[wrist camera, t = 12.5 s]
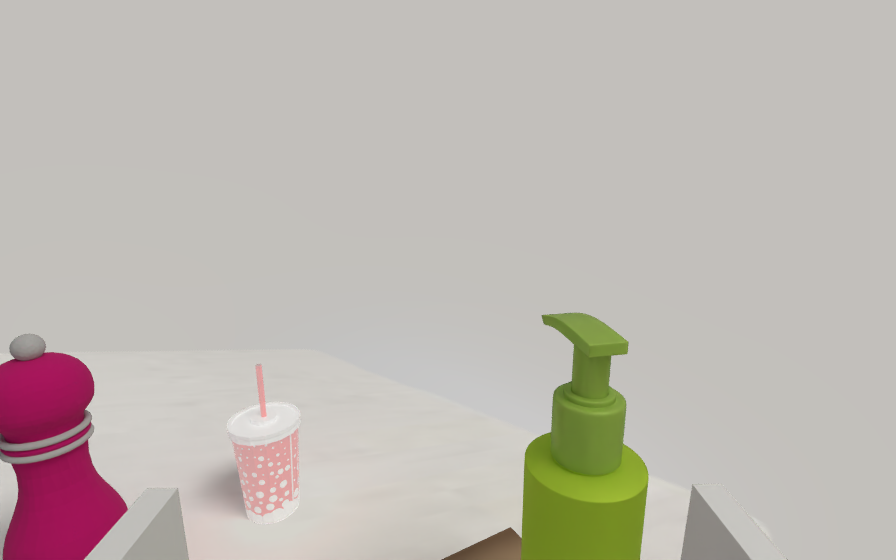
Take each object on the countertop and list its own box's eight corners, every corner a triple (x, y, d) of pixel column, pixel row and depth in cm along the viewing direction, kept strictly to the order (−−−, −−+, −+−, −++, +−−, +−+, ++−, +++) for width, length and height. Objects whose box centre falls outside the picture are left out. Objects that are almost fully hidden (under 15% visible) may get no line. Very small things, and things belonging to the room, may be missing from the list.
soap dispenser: (584, 596, 31) (607, 302, 26) (648, 712, 24) (693, 347, 20) (498, 613, 30) (505, 308, 25) (541, 740, 23) (562, 359, 19)
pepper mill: (124, 536, 40) (81, 311, 36) (152, 585, 36) (106, 333, 31) (11, 591, 35) (-58, 336, 31) (25, 657, 30) (-53, 367, 26)
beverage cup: (272, 478, 48) (258, 347, 45) (321, 494, 45) (310, 357, 42) (221, 518, 42) (202, 373, 39) (275, 539, 40) (258, 386, 37)
